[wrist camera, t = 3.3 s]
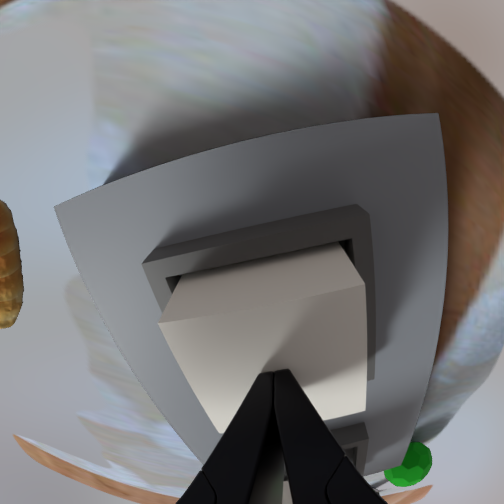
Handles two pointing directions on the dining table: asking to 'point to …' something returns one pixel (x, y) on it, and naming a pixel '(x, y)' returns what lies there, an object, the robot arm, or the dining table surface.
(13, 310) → the pastry
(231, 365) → the button
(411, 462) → the polyhedron
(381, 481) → the dining table surface
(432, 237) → the panel
